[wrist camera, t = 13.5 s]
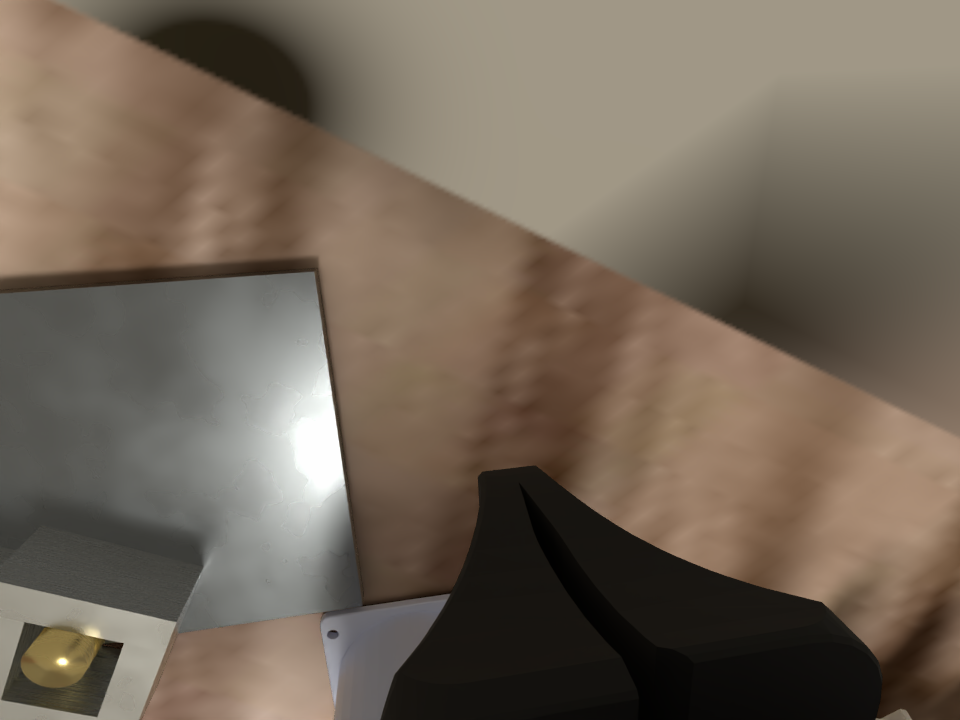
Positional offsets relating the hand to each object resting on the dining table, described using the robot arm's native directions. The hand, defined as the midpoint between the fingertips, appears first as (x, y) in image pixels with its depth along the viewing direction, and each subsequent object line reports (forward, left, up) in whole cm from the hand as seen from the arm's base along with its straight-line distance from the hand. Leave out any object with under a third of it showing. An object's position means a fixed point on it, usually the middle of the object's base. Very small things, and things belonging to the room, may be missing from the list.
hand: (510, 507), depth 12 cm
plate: (-3, +17, -10) cm, 20 cm away
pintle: (-8, +15, -10) cm, 20 cm away
